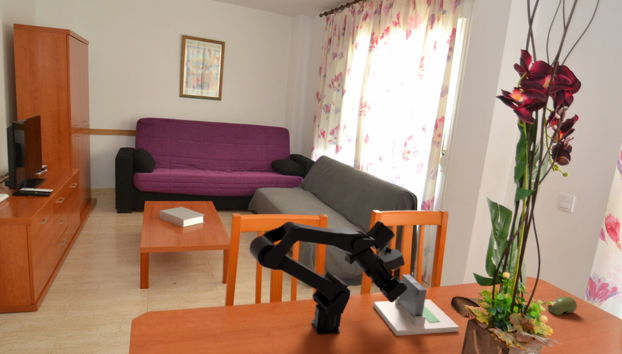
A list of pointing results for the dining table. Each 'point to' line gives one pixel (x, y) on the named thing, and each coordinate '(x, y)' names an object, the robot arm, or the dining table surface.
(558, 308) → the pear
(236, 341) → the dining table surface
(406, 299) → the dark grey square panel
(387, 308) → the pivot board
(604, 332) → the dining table surface
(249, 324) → the dining table surface
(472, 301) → the sunglasses case
